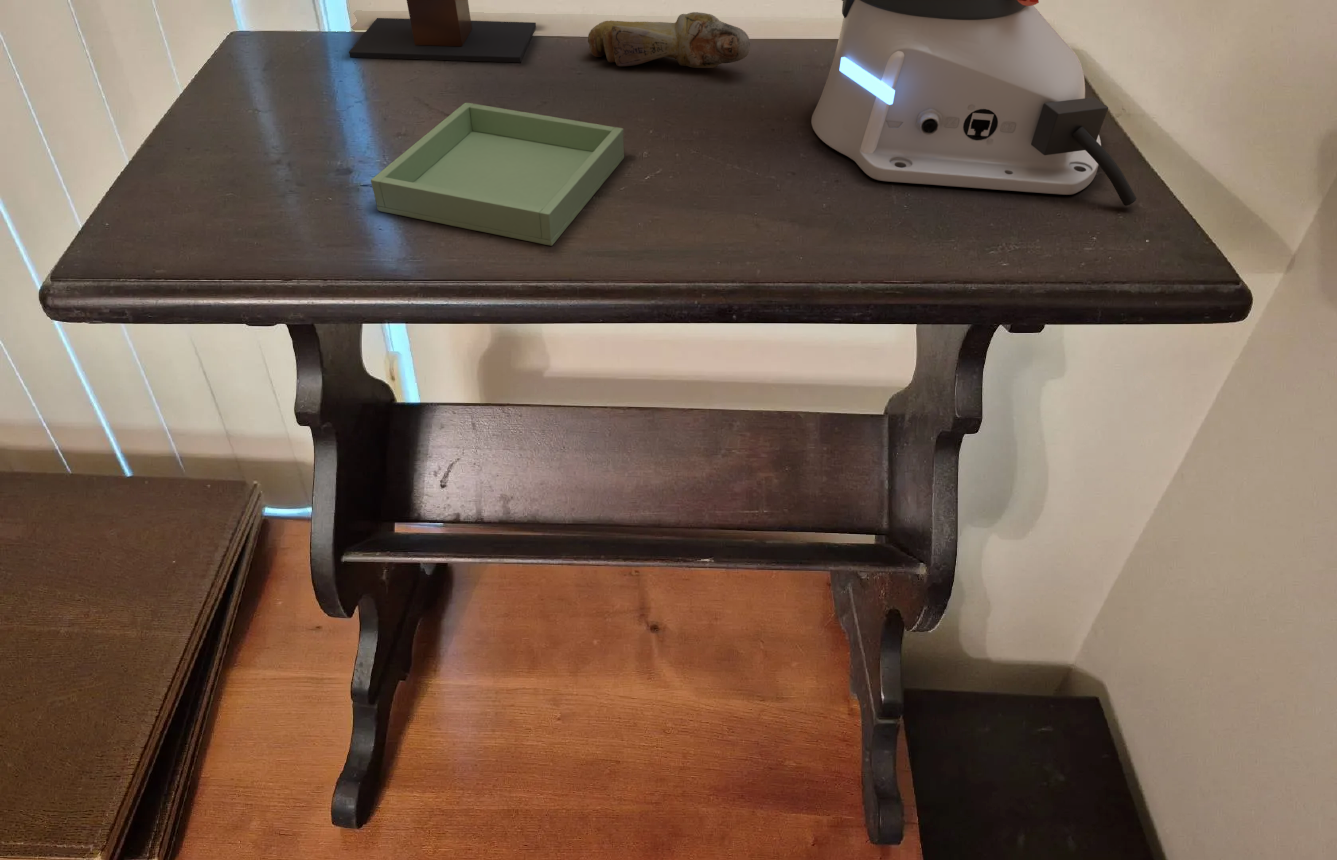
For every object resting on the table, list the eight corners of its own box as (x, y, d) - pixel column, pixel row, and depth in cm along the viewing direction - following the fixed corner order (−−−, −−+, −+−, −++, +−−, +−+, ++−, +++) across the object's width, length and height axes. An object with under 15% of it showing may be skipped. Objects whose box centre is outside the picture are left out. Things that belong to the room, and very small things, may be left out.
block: (472, 29, 86) (465, -21, 82) (462, 46, 82) (454, -5, 79) (426, 27, 86) (417, -22, 83) (414, 45, 82) (405, -6, 79)
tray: (624, 157, 68) (623, 127, 66) (551, 246, 59) (549, 214, 57) (469, 130, 71) (465, 101, 69) (377, 210, 62) (369, 179, 60)
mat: (536, 27, 88) (535, 22, 87) (520, 62, 81) (519, 57, 81) (378, 22, 88) (376, 17, 88) (349, 57, 82) (348, 51, 81)
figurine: (576, 40, 79) (732, 41, 73) (596, -4, 81) (750, -6, 75) (596, 83, 83) (745, 87, 78) (614, 41, 85) (761, 42, 80)
